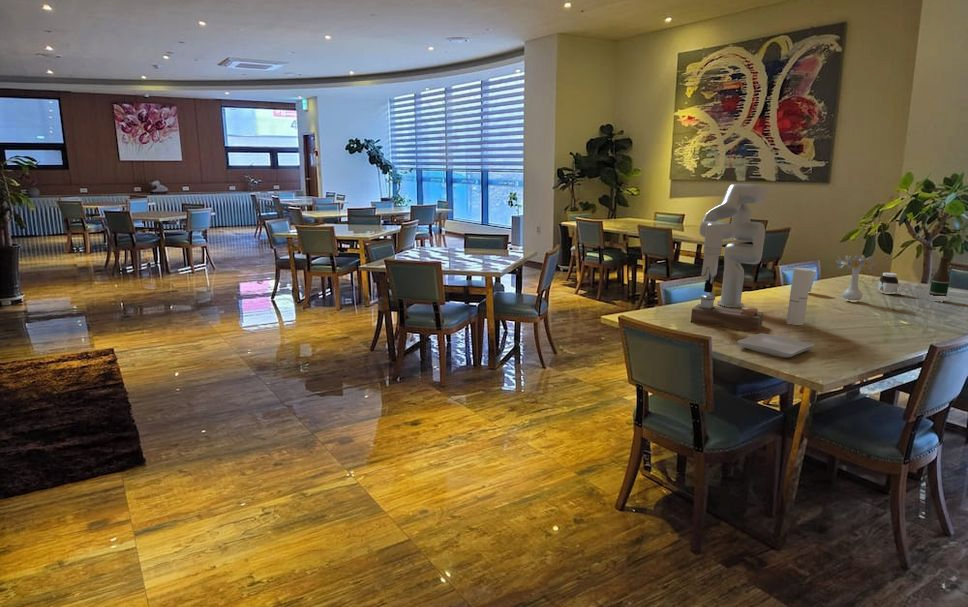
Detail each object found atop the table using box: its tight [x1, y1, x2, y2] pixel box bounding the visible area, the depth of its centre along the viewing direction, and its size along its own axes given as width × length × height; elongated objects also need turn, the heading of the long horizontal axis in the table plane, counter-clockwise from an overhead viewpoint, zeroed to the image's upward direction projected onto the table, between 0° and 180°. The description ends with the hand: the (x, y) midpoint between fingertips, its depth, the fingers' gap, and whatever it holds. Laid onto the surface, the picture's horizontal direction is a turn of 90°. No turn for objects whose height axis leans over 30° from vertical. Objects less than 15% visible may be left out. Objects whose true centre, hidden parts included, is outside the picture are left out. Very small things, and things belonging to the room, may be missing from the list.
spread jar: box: [877, 272, 904, 293], centre depth 348 cm, size 12×11×12 cm
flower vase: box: [835, 254, 877, 301], centre depth 325 cm, size 13×18×25 cm
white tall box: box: [786, 267, 813, 326], centre depth 275 cm, size 7×7×25 cm
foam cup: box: [809, 268, 817, 293], centre depth 347 cm, size 10×9×13 cm
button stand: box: [690, 303, 764, 332], centre depth 275 cm, size 12×28×6 cm, turn 58°
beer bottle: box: [928, 256, 951, 297], centre depth 331 cm, size 8×8×24 cm
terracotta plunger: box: [741, 306, 759, 316], centre depth 270 cm, size 6×6×6 cm
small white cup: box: [699, 294, 716, 310], centre depth 278 cm, size 6×6×6 cm
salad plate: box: [736, 332, 815, 359], centre depth 237 cm, size 21×21×3 cm
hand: (708, 291), depth 277 cm, fingers closed
